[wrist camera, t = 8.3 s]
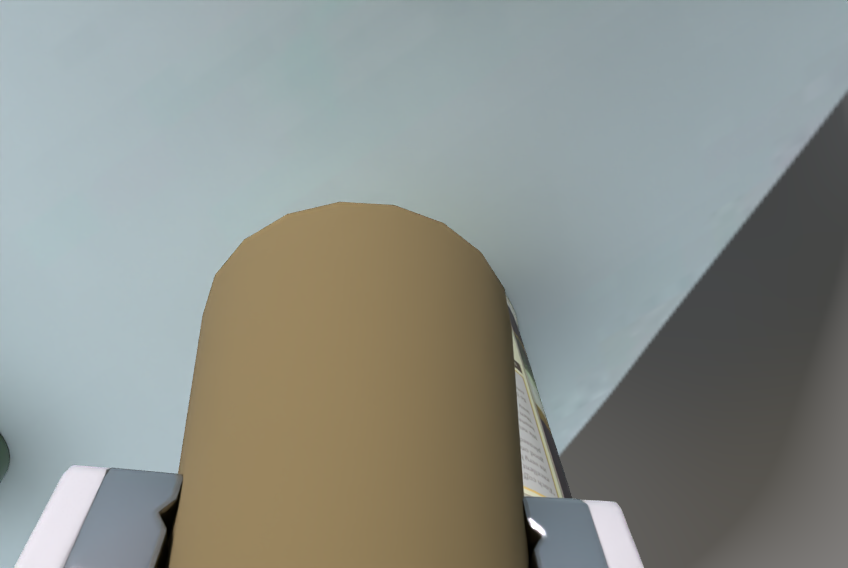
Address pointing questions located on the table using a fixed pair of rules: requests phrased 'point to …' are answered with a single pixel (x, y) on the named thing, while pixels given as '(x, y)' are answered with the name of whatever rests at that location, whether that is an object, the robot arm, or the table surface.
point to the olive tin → (3, 458)
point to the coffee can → (535, 430)
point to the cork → (353, 402)
